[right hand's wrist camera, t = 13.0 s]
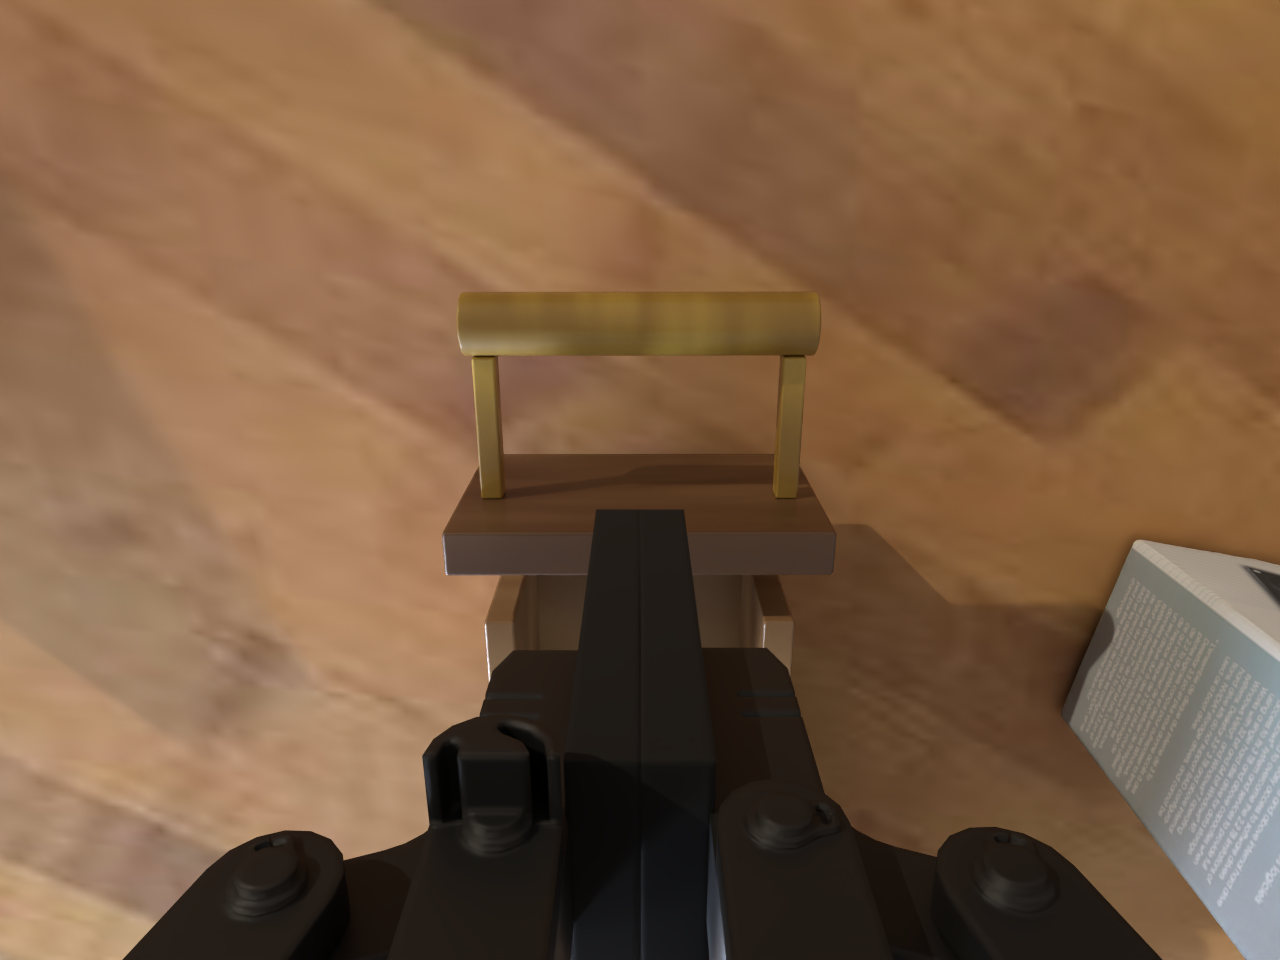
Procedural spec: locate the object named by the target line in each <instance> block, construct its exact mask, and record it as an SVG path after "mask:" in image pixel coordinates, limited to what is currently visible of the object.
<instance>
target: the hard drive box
mask: <svg viewBox="0 0 1280 960" xmlns="http://www.w3.org/2000/svg"><path fill="white" fill-rule="evenodd" d="M1061 715H1062V718H1063V719H1064V720H1065V722H1066V723H1067V724H1068V726H1069V727H1070V728H1071V729H1072V731H1073V732H1074V733H1075V735H1076V736H1077V737H1078V739H1079V740H1080V742H1081V743H1082V744H1083V746H1084V747H1085V748H1086V749H1087V751H1088V752H1089V753H1090V755H1091V756H1092V757H1093V759H1094V760H1095V762H1096V763H1097V764H1098V765H1099V767H1100V768H1101V769H1102V770H1103V772H1104V773H1105V774H1106V776H1107V777H1108V779H1109V780H1110V781H1111V782H1112V784H1113V785H1114V786H1115V788H1116V789H1117V790H1118V791H1119V793H1120V794H1121V795H1122V797H1123V798H1124V799H1125V801H1126V802H1127V803H1128V805H1129V806H1130V807H1131V809H1132V810H1133V812H1134V813H1135V814H1136V816H1137V817H1138V818H1139V820H1140V821H1141V822H1142V824H1143V825H1144V826H1145V827H1146V829H1147V830H1148V831H1149V832H1150V834H1151V835H1152V836H1153V838H1154V839H1155V840H1156V842H1157V843H1158V845H1159V846H1160V847H1161V849H1162V850H1163V851H1164V853H1165V854H1166V855H1167V857H1168V858H1169V859H1170V861H1171V862H1172V863H1173V865H1174V866H1175V867H1176V868H1177V870H1178V871H1179V872H1180V873H1181V875H1182V876H1183V877H1184V878H1185V880H1186V881H1187V882H1188V884H1189V885H1190V886H1191V888H1192V889H1193V890H1194V892H1195V893H1196V894H1197V895H1198V897H1199V898H1200V899H1201V901H1202V902H1203V903H1204V905H1205V906H1206V907H1207V909H1208V910H1209V911H1210V913H1211V914H1212V915H1213V917H1214V918H1215V919H1216V921H1217V922H1218V923H1219V925H1220V926H1221V927H1222V929H1223V930H1224V931H1225V933H1226V934H1227V935H1228V937H1229V938H1230V939H1231V941H1232V942H1233V943H1234V945H1235V946H1236V947H1237V949H1238V950H1239V951H1240V953H1241V954H1242V955H1243V957H1244V958H1245V959H1246V960H1280V565H1277V564H1272V563H1268V562H1264V561H1261V560H1257V559H1251V558H1243V557H1237V556H1232V555H1227V554H1222V553H1216V552H1210V551H1203V550H1197V549H1191V548H1185V547H1180V546H1174V545H1168V544H1163V543H1157V542H1152V541H1147V540H1136V541H1135V542H1134V543H1133V545H1132V547H1131V550H1130V552H1129V554H1128V556H1127V558H1126V561H1125V563H1124V565H1123V568H1122V570H1121V572H1120V575H1119V577H1118V580H1117V582H1116V584H1115V587H1114V589H1113V591H1112V593H1111V596H1110V598H1109V600H1108V603H1107V605H1106V607H1105V609H1104V612H1103V614H1102V616H1101V618H1100V621H1099V623H1098V626H1097V628H1096V630H1095V633H1094V635H1093V637H1092V640H1091V642H1090V644H1089V647H1088V649H1087V651H1086V653H1085V656H1084V658H1083V660H1082V663H1081V665H1080V668H1079V670H1078V673H1077V675H1076V677H1075V680H1074V682H1073V685H1072V687H1071V689H1070V692H1069V694H1068V697H1067V699H1066V701H1065V704H1064V706H1063V708H1062V712H1061Z"/></svg>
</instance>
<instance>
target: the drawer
mask: <svg viewBox="0 0 1280 960" xmlns="http://www.w3.org/2000/svg"><path fill="white" fill-rule="evenodd" d="M820 331H821V306H820V300H819V297H818V294H817V293H816V292H463V293H461V294H460V297H459V300H458V306H457V333H458V340H459V345H460V349H461V351H462V353H463V355H465V356H474V357H473V358H472V372H473V387H474V401H475V415H476V430H477V444H478V458H479V467H478V469H477V470H476V472H475V474H474V476H473V478H472V480H471V481H470V483H469V485H468V487H467V489H466V491H465V493H464V494H463V496H462V498H461V500H460V502H459V504H458V505H457V507H456V509H455V511H454V513H453V515H452V516H451V518H450V520H449V522H448V524H447V526H446V528H445V529H444V531H443V533H442V540H443V551H444V563H445V572H446V575H501V576H500V579H499V582H498V585H497V588H496V591H495V594H494V597H493V600H492V603H491V606H490V608H489V611H488V614H487V617H486V620H485V637H486V651H487V665H488V678H489V681H490V678H491V674H492V671H493V670H494V669H495V668H496V667H497V666H498V665H499V664H500V663H501V662H502V661H503V660H504V659H505V658H506V657H507V656H508V655H509V654H510V653H511V652H512V651H513V650H578V646H579V638H580V630H581V623H582V615H583V607H584V599H585V591H586V584H587V576H588V568H589V560H590V553H591V545H592V537H593V529H594V521H595V514H596V509H684V514H685V521H686V529H687V537H688V545H689V553H690V560H691V568H692V576H693V584H694V591H695V599H696V607H697V615H698V623H699V630H700V638H701V646H702V648H768V649H769V650H770V651H771V652H772V653H773V654H774V655H775V656H776V657H777V658H778V659H779V660H780V661H781V662H782V663H783V664H784V665H785V666H786V667H787V668H788V671H789V674H790V678H791V664H792V650H793V635H794V620H793V617H792V614H791V611H790V608H789V605H788V602H787V599H786V596H785V593H784V590H783V588H782V585H781V582H780V579H779V576H778V575H831V574H832V573H833V568H834V556H835V544H836V532H835V530H834V528H833V526H832V525H831V523H830V521H829V519H828V517H827V515H826V513H825V512H824V510H823V508H822V506H821V504H820V502H819V500H818V499H817V497H816V495H815V493H814V491H813V489H812V487H811V486H810V484H809V482H808V480H807V478H806V476H805V474H804V473H803V471H802V469H801V467H800V450H801V435H802V420H803V405H804V390H805V375H806V360H807V359H806V357H805V356H804V355H814V354H815V353H816V351H817V348H818V345H819V340H820ZM723 355H780V370H779V388H778V405H777V423H776V441H775V454H503V437H502V420H501V403H500V386H499V369H498V356H723Z"/></svg>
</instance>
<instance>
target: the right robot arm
mask: <svg viewBox="0 0 1280 960" xmlns="http://www.w3.org/2000/svg"><path fill="white" fill-rule="evenodd" d="M485 696H486V697H485V700H484V702H483V705H482V709H481V712H480V717H475V718H473V719H470V720H467V721H464V722H462V723H459V724H456V725H453V726H451V727H450V728H449V729H447V730H446V731H444V732H443V733H442V734H440V735H439V736H437V737H436V738H435V739H433V741H432V742H431V744H430V745H429V747H428V748H427V750H426V751H425V753H424V754H423V756H422V757H423V767H424V776H425V785H426V795H427V804H428V814H429V823H430V825H429V828H428V831H426V832H425V833H424V834H422V835H420V836H418V837H416V838H415V839H413V840H411V841H409V842H407V843H405V844H402V845H399V846H396V847H393V848H390V849H387V850H384V851H380V852H376V853H372V854H368V855H364V856H360V857H356V858H352V859H348V860H344V861H343V854H342V853H341V852H340V850H339V849H338V848H337V847H336V845H335V844H334V843H333V841H332V840H331V839H329V838H326V837H324V836H321V835H319V834H316V833H314V832H311V831H281V832H277V833H273V834H268V835H264V836H260V837H256V838H254V839H252V840H250V841H248V842H246V843H244V844H242V845H240V846H238V847H236V848H234V849H232V850H230V851H228V852H227V853H226V854H225V855H223V856H222V857H221V858H220V859H219V860H217V861H216V862H215V863H214V864H213V865H211V866H210V867H209V868H208V869H206V871H205V872H204V873H203V874H202V875H201V876H200V877H199V878H198V879H197V880H196V881H195V882H194V883H193V885H192V886H191V887H190V888H189V889H188V890H187V891H186V892H185V893H184V894H183V895H182V896H181V897H180V898H179V900H178V901H177V902H176V903H175V904H174V905H173V906H172V907H171V908H170V909H169V910H168V911H167V912H166V914H165V915H164V916H163V917H162V918H161V919H160V920H159V921H158V922H157V923H156V924H155V925H154V926H153V928H152V929H151V930H150V931H149V932H148V933H147V934H146V935H145V936H144V937H143V938H142V939H141V940H140V941H139V943H138V944H137V945H136V946H135V947H134V948H133V949H132V950H131V951H130V952H129V953H128V954H127V955H126V957H125V958H124V959H123V960H709V957H710V960H1162V959H1161V958H1160V957H1159V956H1158V955H1157V954H1156V952H1155V951H1154V950H1153V949H1152V948H1151V947H1150V946H1149V945H1148V944H1147V943H1146V942H1145V941H1144V940H1143V939H1142V938H1141V936H1140V935H1139V934H1138V933H1137V932H1136V931H1135V930H1134V929H1133V928H1132V927H1131V926H1130V925H1129V924H1128V923H1127V921H1126V920H1125V919H1124V918H1123V917H1122V916H1121V915H1120V914H1119V913H1118V912H1117V911H1116V910H1115V909H1114V908H1113V907H1112V905H1111V904H1110V903H1109V902H1108V901H1107V900H1106V899H1105V898H1104V897H1103V896H1102V895H1101V894H1100V893H1099V892H1098V891H1097V889H1096V888H1095V887H1094V886H1093V885H1092V884H1091V883H1090V882H1089V881H1088V880H1087V879H1086V878H1085V877H1084V876H1083V875H1082V873H1081V872H1080V871H1079V870H1078V869H1077V868H1076V867H1075V866H1074V865H1073V864H1072V863H1070V862H1069V861H1068V860H1067V859H1065V858H1064V857H1063V856H1062V855H1061V854H1059V853H1058V852H1057V851H1056V850H1054V849H1053V848H1052V847H1050V846H1048V845H1046V844H1044V843H1042V842H1040V841H1038V840H1036V839H1034V838H1032V837H1030V836H1028V835H1026V834H1023V833H1019V832H1015V831H1011V830H1006V829H1002V828H998V827H977V828H968V829H965V830H963V831H960V832H958V833H955V834H953V835H950V836H949V837H948V839H947V840H946V841H945V842H944V844H943V845H942V846H941V847H940V849H939V850H938V854H937V857H934V856H930V855H926V854H922V853H918V852H914V851H910V850H906V849H902V848H898V847H894V846H891V845H888V844H885V843H882V842H879V841H876V840H874V839H872V838H870V837H868V836H866V835H864V834H863V833H861V832H859V831H857V830H856V829H854V828H853V827H852V826H851V824H850V822H849V820H848V819H847V817H846V815H845V814H844V812H843V810H842V809H841V807H840V806H839V805H838V804H837V803H836V802H834V801H833V800H832V799H831V798H829V797H828V796H827V795H826V794H825V793H824V790H823V786H822V783H821V780H820V776H819V773H818V769H817V766H816V763H815V759H814V756H813V752H812V749H811V746H810V742H809V739H808V735H807V732H806V729H805V725H804V722H803V719H802V717H801V712H800V708H799V705H798V702H797V698H796V697H795V691H794V688H793V685H792V681H791V678H790V674H789V671H788V668H787V667H786V666H785V665H784V664H783V663H782V662H781V661H780V660H779V659H778V658H777V657H776V656H775V655H774V654H773V653H772V652H771V651H770V650H769V649H768V648H702V646H701V638H700V630H699V623H698V615H697V607H696V599H695V591H694V584H693V576H692V568H691V560H690V553H689V545H688V537H687V529H686V521H685V514H684V509H596V514H595V521H594V529H593V537H592V545H591V553H590V560H589V568H588V576H587V584H586V591H585V599H584V607H583V615H582V623H581V630H580V638H579V646H578V650H513V651H512V652H511V653H510V654H509V655H508V656H507V657H506V658H505V659H504V660H503V661H502V662H501V663H500V664H499V665H498V666H497V667H496V668H495V669H494V670H493V671H492V674H491V678H490V681H489V685H488V688H487V691H486V695H485Z"/></svg>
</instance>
